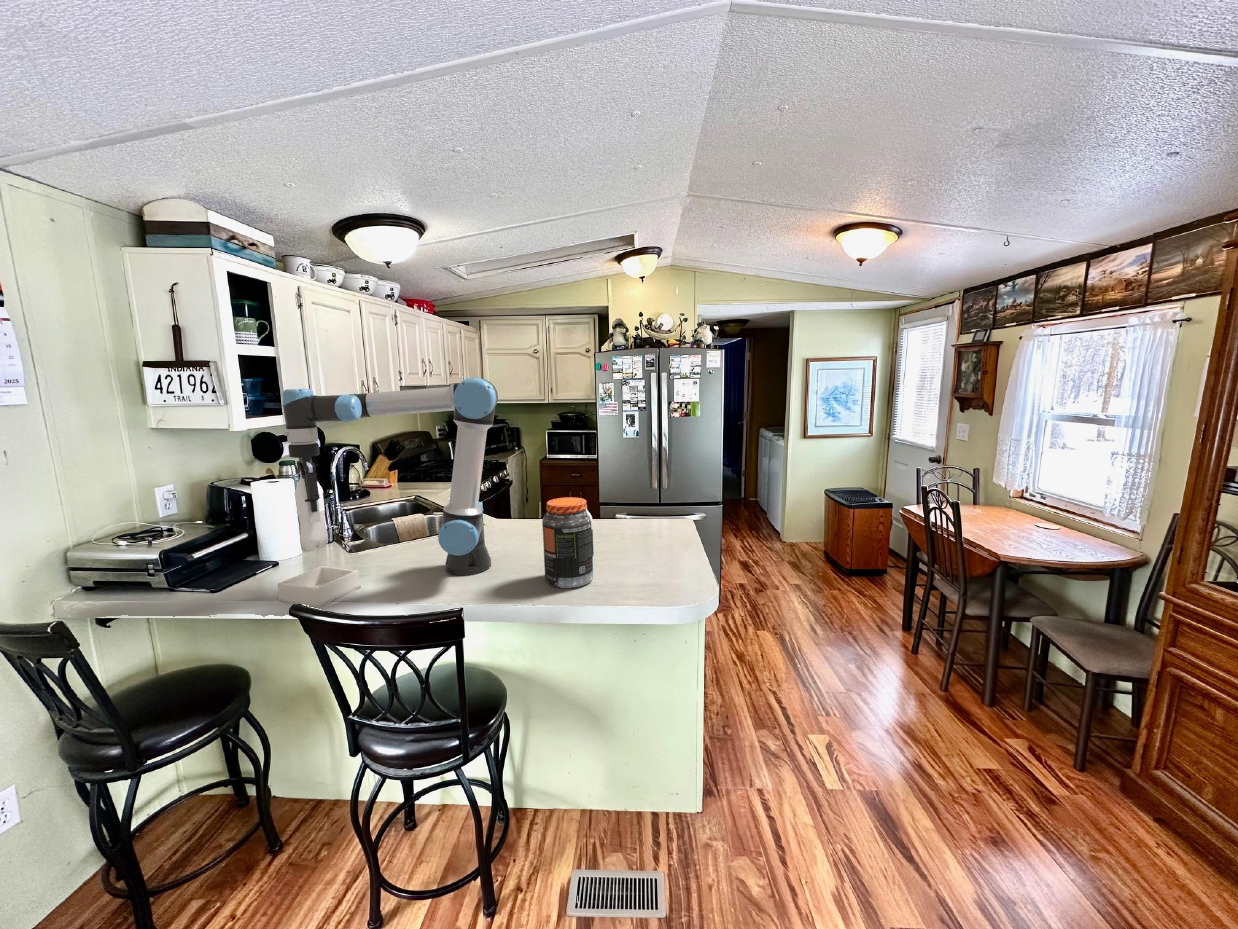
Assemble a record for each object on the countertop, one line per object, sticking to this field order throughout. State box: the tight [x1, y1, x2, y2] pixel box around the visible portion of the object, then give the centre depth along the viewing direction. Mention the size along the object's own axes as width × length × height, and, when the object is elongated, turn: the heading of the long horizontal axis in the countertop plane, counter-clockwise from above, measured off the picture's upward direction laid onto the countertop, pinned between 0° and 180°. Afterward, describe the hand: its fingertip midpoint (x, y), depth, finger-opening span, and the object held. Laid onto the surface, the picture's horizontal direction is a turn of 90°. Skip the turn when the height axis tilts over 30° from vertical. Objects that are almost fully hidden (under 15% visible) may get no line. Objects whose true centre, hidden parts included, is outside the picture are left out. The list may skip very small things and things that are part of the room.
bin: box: [277, 565, 361, 609], centre depth 151 cm, size 15×15×6 cm
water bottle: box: [294, 471, 329, 551], centre depth 147 cm, size 7×7×25 cm
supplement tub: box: [541, 496, 595, 589], centre depth 158 cm, size 16×16×26 cm
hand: (312, 519), depth 148 cm, fingers closed on water bottle, 7 cm apart
